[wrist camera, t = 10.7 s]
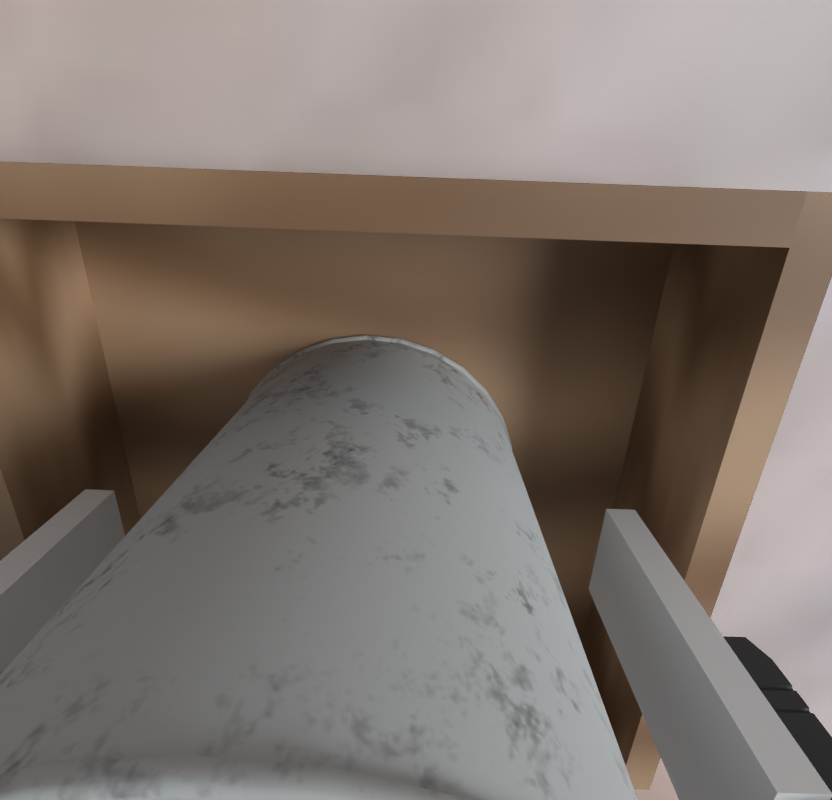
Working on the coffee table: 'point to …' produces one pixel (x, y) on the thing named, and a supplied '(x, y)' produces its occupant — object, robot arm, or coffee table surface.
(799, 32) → the coffee table surface
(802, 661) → the coffee table surface
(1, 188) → the walnut box
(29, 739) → the speckled white tin can
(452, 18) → the coffee table surface
